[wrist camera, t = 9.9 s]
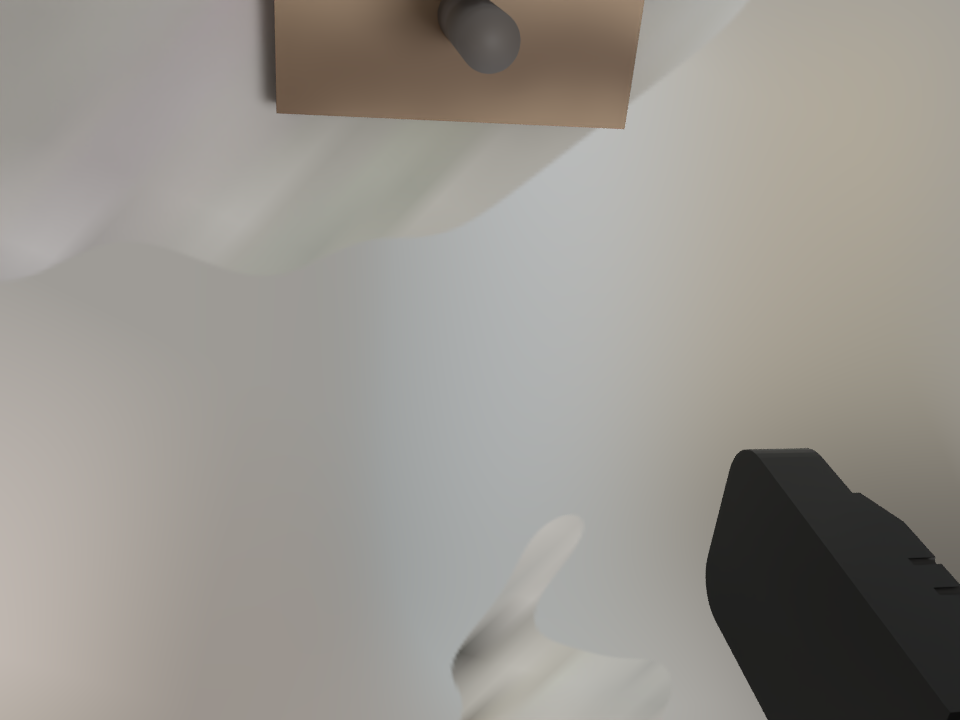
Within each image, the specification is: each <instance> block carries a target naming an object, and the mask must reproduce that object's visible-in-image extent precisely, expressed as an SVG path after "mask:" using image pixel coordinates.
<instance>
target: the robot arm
mask: <svg viewBox="0 0 960 720" xmlns="http://www.w3.org/2000/svg"><path fill="white" fill-rule="evenodd" d="M706 589H707V596H708V601H709V605H710V608H711V611H712V614H713V616H714V618H715V621H716V623H717V625H718V626H719V628H720V630H721V632H722V634H723V636H724V638H725V640H726V642H727V643H728V645H729V647H730V649H731V651H732V653H733V655H734V657H735V659H736V660H737V662H738V664H739V666H740V668H741V670H742V672H743V674H744V676H745V678H746V679H747V681H748V683H749V685H750V687H751V689H752V691H753V692H754V694H755V696H756V698H757V700H758V702H759V704H760V706H761V708H762V709H763V712H764V713H765V715H766V717H767V719H768V720H960V584H959V583H958V582H957V581H956V580H955V579H954V577H953V576H952V575H951V574H950V573H949V572H948V571H947V570H946V568H945V567H944V566H943V565H942V564H936V563H935V556H934V555H933V554H932V553H931V552H930V551H929V549H927V548H926V546H925V545H924V544H923V543H922V542H921V541H920V539H919V538H918V537H917V536H916V535H915V534H914V533H913V532H912V530H911V529H910V528H909V527H908V526H907V525H906V524H905V523H904V522H903V521H901V520H900V519H899V518H897V517H895V516H894V515H893V514H891V513H889V512H888V511H887V510H885V509H884V508H882V507H881V506H879V505H878V504H876V503H875V502H873V501H872V500H870V499H868V498H867V497H865V496H864V495H862V494H861V493H852V492H851V491H850V490H849V488H847V486H846V485H845V484H844V483H843V481H842V480H841V479H840V478H839V477H838V476H837V475H836V473H835V472H834V471H833V470H832V469H831V467H830V466H829V465H828V464H827V463H826V462H825V460H824V459H823V458H822V457H821V456H820V455H819V454H818V453H817V452H816V451H814V450H812V449H809V448H804V449H802V448H800V449H753V450H752V449H749V450H742V451H740V452H739V453H738V454H737V455H736V456H735V458H734V460H733V462H732V464H731V467H730V471H729V475H728V478H727V483H726V486H725V491H724V494H723V498H722V502H721V506H720V510H719V514H718V518H717V522H716V526H715V530H714V534H713V538H712V542H711V546H710V550H709V554H708V558H707V563H706Z"/></svg>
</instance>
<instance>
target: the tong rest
mask: <svg viewBox="0 0 960 720" xmlns="http://www.w3.org/2000/svg"><path fill="white" fill-rule="evenodd" d="M643 6H644V0H274V13H275V61H276V109H277V113H283V114H305V115H327V116H349V117H371V118H393V119H415V120H437V121H459V122H481V123H503V124H525V125H547V126H569V127H591V128H614V129H624V128H625V122H626V115H627V109H628V103H629V96H630V90H631V83H632V77H633V70H634V64H635V58H636V51H637V45H638V38H639V32H640V25H641V19H642V13H643Z"/></svg>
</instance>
